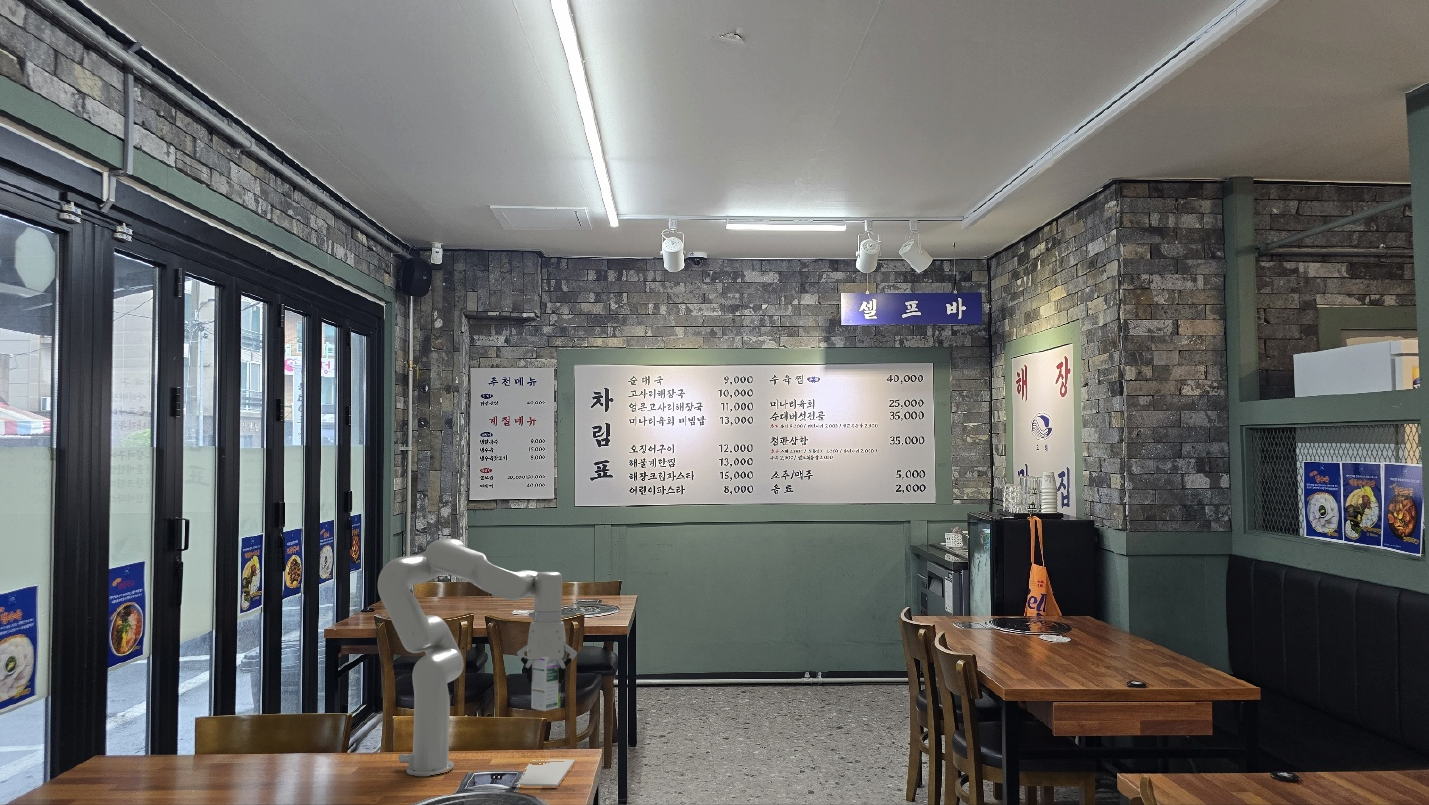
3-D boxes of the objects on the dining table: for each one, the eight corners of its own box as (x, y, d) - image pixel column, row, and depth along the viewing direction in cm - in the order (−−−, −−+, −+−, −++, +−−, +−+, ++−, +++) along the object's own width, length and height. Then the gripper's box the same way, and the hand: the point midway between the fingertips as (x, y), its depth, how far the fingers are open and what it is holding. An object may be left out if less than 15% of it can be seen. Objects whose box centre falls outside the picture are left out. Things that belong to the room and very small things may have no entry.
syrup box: (544, 711, 238) (546, 656, 240) (530, 708, 242) (531, 654, 244) (560, 707, 243) (562, 653, 245) (545, 704, 247) (547, 651, 248)
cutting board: (511, 788, 230) (511, 783, 230) (533, 763, 252) (533, 758, 252) (557, 789, 229) (557, 784, 229) (575, 764, 251) (575, 759, 251)
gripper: (513, 618, 242) (511, 684, 240) (575, 619, 241) (574, 685, 239) (520, 615, 249) (518, 679, 248) (581, 615, 248) (580, 680, 247)
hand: (546, 682), depth 243 cm, fingers closed on syrup box, 7 cm apart
